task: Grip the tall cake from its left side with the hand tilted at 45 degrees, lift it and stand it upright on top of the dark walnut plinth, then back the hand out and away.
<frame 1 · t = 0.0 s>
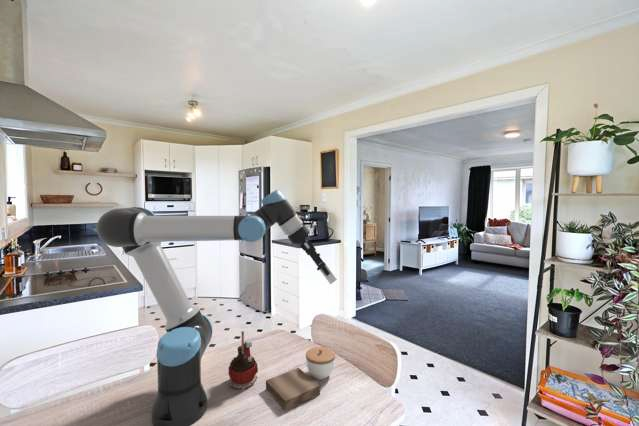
hand: (329, 276, 109), 36 cm above the table, tool tilted 35°, fingers open, 13 cm apart
cake: (243, 382, 105), on the table
lidded jar: (320, 374, 110), on the table
plinth: (292, 391, 100), on the table
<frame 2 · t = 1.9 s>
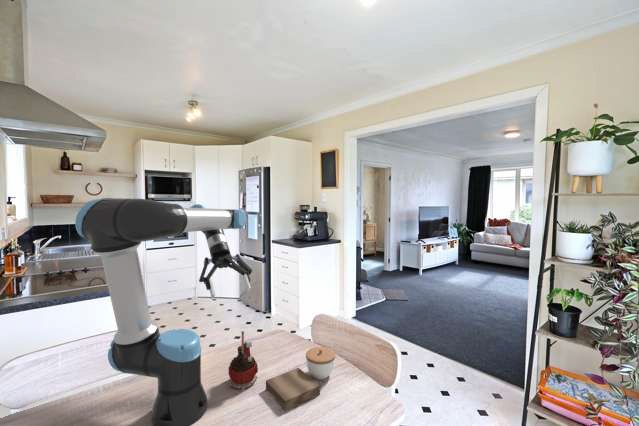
hand: (232, 293, 112), 29 cm above the table, tool tilted 45°, fingers open, 13 cm apart
nothing on the table moved.
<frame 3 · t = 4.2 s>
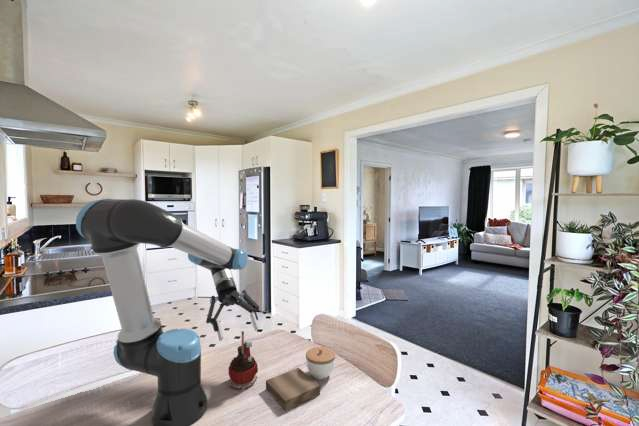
hand: (240, 334, 110), 15 cm above the table, tool tilted 45°, fingers open, 13 cm apart
nothing on the table moved.
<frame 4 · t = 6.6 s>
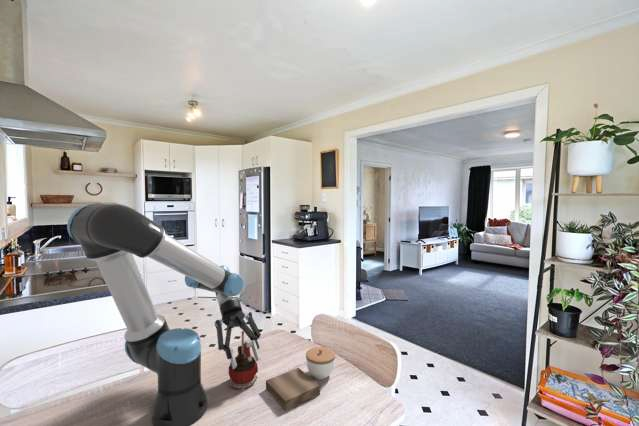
hand: (246, 363, 102), 8 cm above the table, tool tilted 45°, fingers closed on cake, 8 cm apart
cake: (243, 382, 105), on the table, touching gripper
everything else where it was.
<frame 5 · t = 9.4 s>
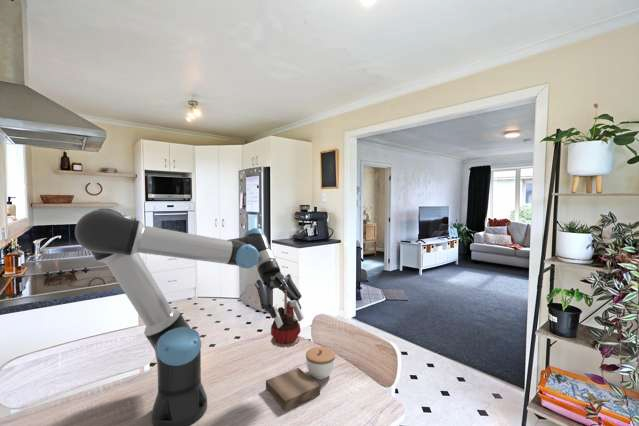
hand: (291, 322, 99), 23 cm above the table, tool tilted 45°, fingers closed on cake, 8 cm apart
cake: (285, 343, 102), point 15 cm above the table, touching gripper
everything else where it was.
when the fingers open (12 cm above the table, at t = 12.2 s): cake drops 1 cm, resting on plinth.
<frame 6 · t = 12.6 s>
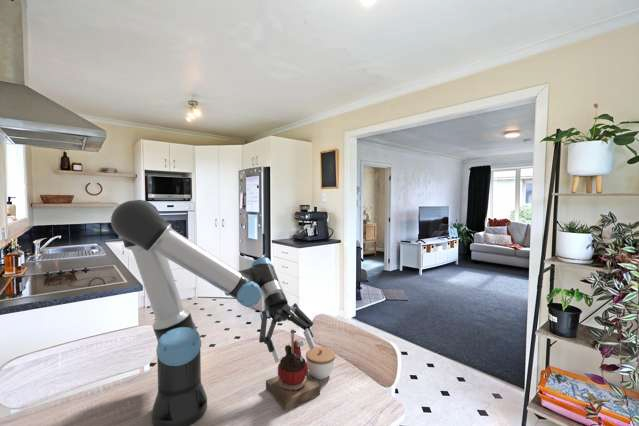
hand: (296, 354, 97), 14 cm above the table, tool tilted 45°, fingers open, 13 cm apart
cake: (292, 383, 100), point 3 cm above the table, touching plinth
everything else where it was.
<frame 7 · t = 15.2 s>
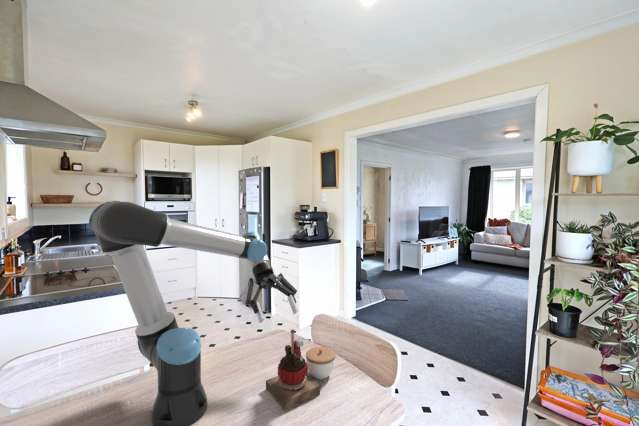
hand: (279, 316, 107), 22 cm above the table, tool tilted 45°, fingers open, 13 cm apart
nothing on the table moved.
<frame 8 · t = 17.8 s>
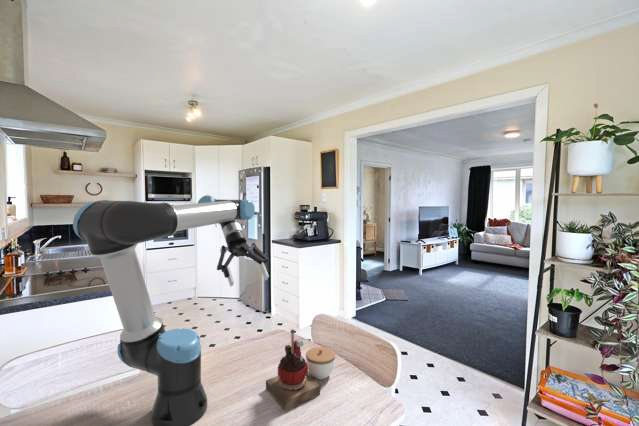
hand: (250, 281, 111), 34 cm above the table, tool tilted 45°, fingers open, 13 cm apart
nothing on the table moved.
at the end: cake inside the target area on the plinth (0.0 cm from its centre), point 2.8 cm above the plinth's base; cake tilted 0°; the gripper is holding nothing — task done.
